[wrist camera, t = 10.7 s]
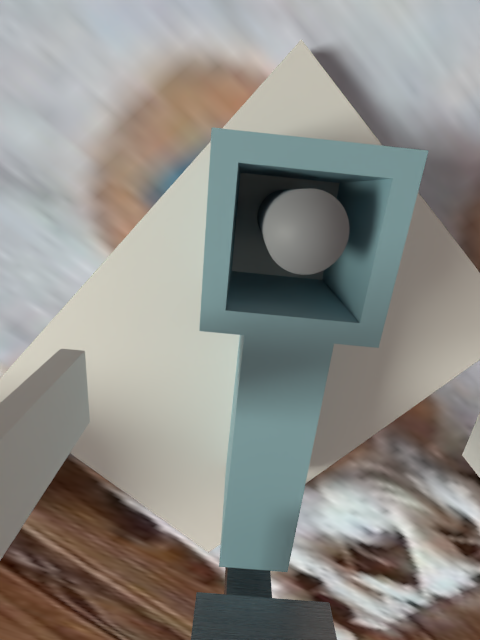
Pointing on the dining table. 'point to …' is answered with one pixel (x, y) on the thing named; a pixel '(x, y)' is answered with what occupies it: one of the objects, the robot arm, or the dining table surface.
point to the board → (222, 349)
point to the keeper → (258, 612)
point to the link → (294, 320)
